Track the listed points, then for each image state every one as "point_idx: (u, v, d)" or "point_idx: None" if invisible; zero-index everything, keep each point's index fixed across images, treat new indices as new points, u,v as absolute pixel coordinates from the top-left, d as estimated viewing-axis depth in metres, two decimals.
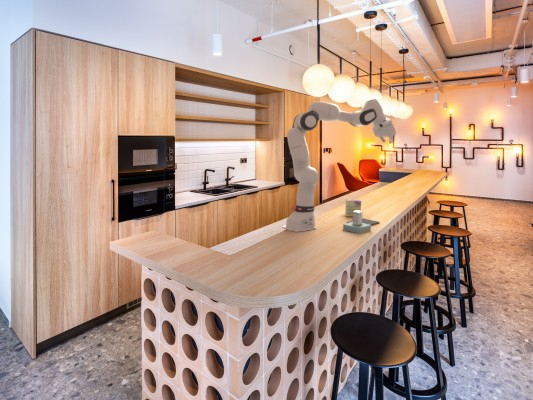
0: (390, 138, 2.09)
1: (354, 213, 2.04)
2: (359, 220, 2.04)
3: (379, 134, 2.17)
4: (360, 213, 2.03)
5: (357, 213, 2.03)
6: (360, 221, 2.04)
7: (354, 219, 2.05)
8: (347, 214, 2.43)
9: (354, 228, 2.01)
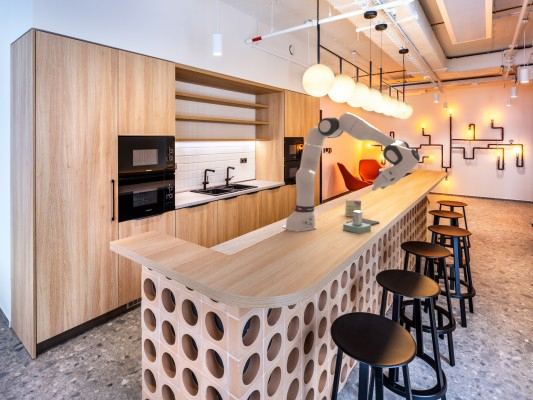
0: (374, 185, 1.87)
1: (354, 213, 2.04)
2: (359, 220, 2.04)
3: None
4: (360, 213, 2.03)
5: (357, 213, 2.03)
6: (360, 221, 2.04)
7: (354, 219, 2.05)
8: (347, 214, 2.43)
9: (354, 228, 2.01)
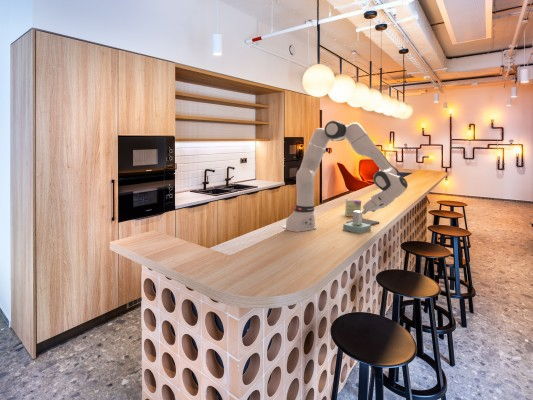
0: (364, 209, 1.94)
1: (354, 213, 2.04)
2: (359, 220, 2.04)
3: None
4: (360, 213, 2.03)
5: (357, 213, 2.03)
6: (360, 221, 2.04)
7: (354, 219, 2.05)
8: (347, 214, 2.43)
9: (354, 228, 2.01)
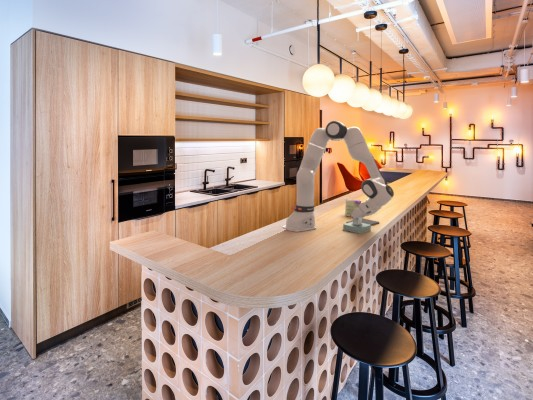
0: None
1: None
2: (359, 220, 2.04)
3: None
4: None
5: None
6: (360, 221, 2.04)
7: None
8: (347, 214, 2.43)
9: (354, 228, 2.01)
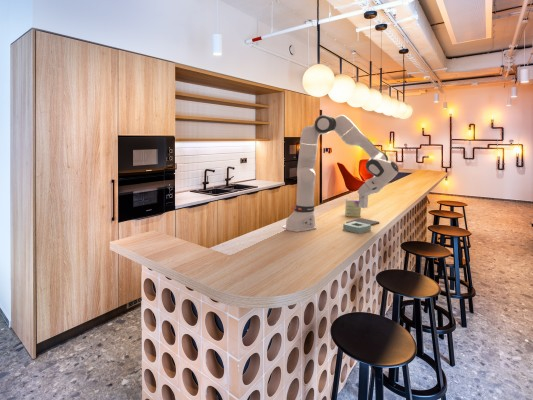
0: None
1: None
2: (365, 197, 2.10)
3: None
4: None
5: None
6: (366, 198, 2.11)
7: None
8: (347, 214, 2.43)
9: (354, 228, 2.01)
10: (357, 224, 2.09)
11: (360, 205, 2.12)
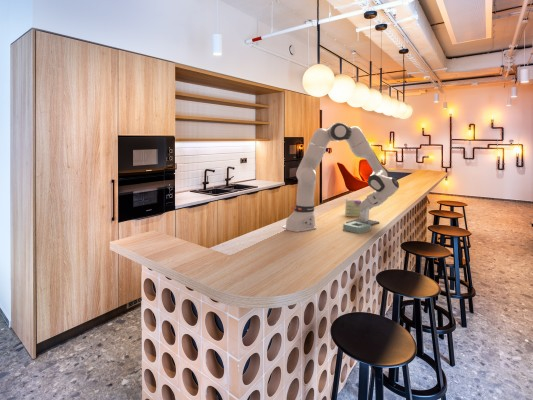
0: None
1: None
2: (366, 213, 2.19)
3: None
4: None
5: None
6: (367, 214, 2.20)
7: (361, 212, 2.20)
8: (347, 214, 2.43)
9: (354, 228, 2.01)
10: (357, 224, 2.09)
11: (361, 220, 2.21)
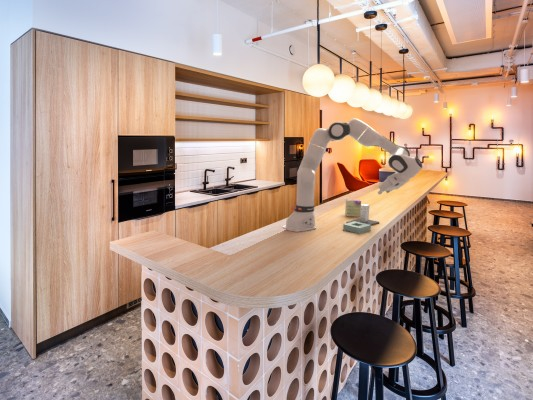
0: (380, 189, 2.03)
1: (361, 206, 2.19)
2: (366, 213, 2.19)
3: None
4: (367, 206, 2.18)
5: (364, 206, 2.18)
6: (367, 214, 2.20)
7: (361, 212, 2.20)
8: (347, 214, 2.43)
9: (354, 228, 2.01)
10: (357, 224, 2.09)
11: (361, 220, 2.21)
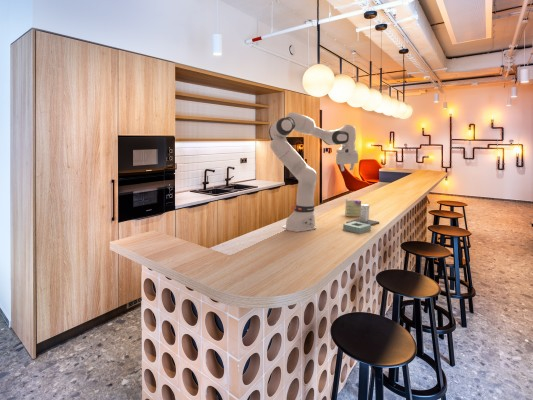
0: (340, 166, 2.19)
1: (361, 206, 2.19)
2: (366, 213, 2.19)
3: None
4: (367, 206, 2.18)
5: (364, 206, 2.18)
6: (367, 214, 2.20)
7: (361, 212, 2.20)
8: (347, 214, 2.43)
9: (354, 228, 2.01)
10: (357, 224, 2.09)
11: (361, 220, 2.21)
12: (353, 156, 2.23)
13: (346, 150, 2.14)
